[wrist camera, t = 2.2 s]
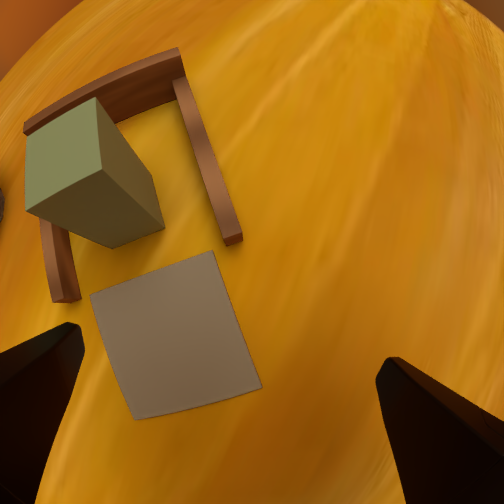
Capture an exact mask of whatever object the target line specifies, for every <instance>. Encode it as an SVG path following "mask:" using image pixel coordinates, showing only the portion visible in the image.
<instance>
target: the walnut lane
mask: <svg viewBox="0 0 504 504" xmlns="http://www.w3.org/2000/svg"><path fill="white" fill-rule="evenodd" d="M94 97H96V98H97V100H98V101H99V103H100V104H101V105H102V107H103V108H104V110H105V111H106V113H107V114H108V116H109V117H110V118H111V120H112V121H113V123H114V124H115V123H117V122H120V121H122V120H124V119H126V118H129V117H131V116H133V115H136V114H138V113H141V112H143V111H145V110H148V109H151V108H153V107H156V106H158V105H161V104H164V103H166V102H169V101H172V100H175V99H178V102H179V106H180V109H181V112H182V115H183V118H184V122H185V125H186V128H187V131H188V134H189V137H190V140H191V143H192V146H193V150H194V153H195V156H196V159H197V162H198V165H199V168H200V171H201V174H202V177H203V180H204V183H205V186H206V189H207V192H208V195H209V198H210V201H211V204H212V207H213V210H214V213H215V216H216V219H217V221H218V224H219V227H220V230H221V233H222V236H223V239H224V241H225V244H226V246H229V245H231V244H234V243H237V242H240V241H243V235H242V230H241V227H240V225H239V222H238V219H237V216H236V213H235V211H234V208H233V205H232V202H231V200H230V197H229V194H228V191H227V189H226V186H225V183H224V180H223V178H222V175H221V172H220V169H219V167H218V164H217V161H216V158H215V155H214V153H213V150H212V147H211V144H210V142H209V139H208V136H207V133H206V131H205V128H204V125H203V122H202V119H201V117H200V114H199V111H198V108H197V106H196V103H195V100H194V97H193V94H192V92H191V89H190V86H189V83H188V80H187V78H186V74H185V71H184V67H183V63H182V59H181V55H180V52H179V49H178V47H176V48H173V49H170V50H167V51H164V52H161V53H158V54H155V55H153V56H150V57H147V58H145V59H142V60H139V61H137V62H134V63H132V64H130V65H127V66H125V67H122V68H120V69H118V70H116V71H113V72H111V73H109V74H107V75H105V76H103V77H101V78H98V79H96V80H94V81H92V82H90V83H88V84H87V85H85V86H83V87H81V88H79V89H77V90H75V91H73V92H72V93H70V94H68V95H66V96H65V97H63V98H61V99H60V100H58V101H56V102H55V103H53V104H51V105H50V106H48V107H47V108H45V109H43V110H42V111H40V112H39V113H37V114H36V115H34V116H33V117H31V118H30V119H28V120H27V121H26V122H24V128H23V133H24V134H25V135H26V136H29V135H31V134H32V133H34V132H35V131H37V130H38V129H40V128H41V127H43V126H45V125H46V124H48V123H49V122H51V121H53V120H54V119H56V118H58V117H59V116H61V115H63V114H64V113H66V112H68V111H70V110H71V109H73V108H75V107H77V106H79V105H81V104H82V103H84V102H86V101H88V100H90V99H92V98H94ZM39 220H40V230H41V239H42V247H43V255H44V261H45V267H46V273H47V279H48V284H49V289H50V294H51V298H52V303H72V302H75V301H78V300H80V299H82V298H81V294H80V290H79V286H78V281H77V277H76V272H75V267H74V262H73V257H72V252H71V246H70V240H69V233H68V230H66V229H64V228H61V227H59V226H57V225H55V224H53V223H50V222H48V221H46V220H44V219H42V218H39Z"/></svg>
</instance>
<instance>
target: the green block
mask: <svg viewBox="0 0 504 504" xmlns="http://www.w3.org/2000/svg"><path fill="white" fill-rule="evenodd" d="M25 211H26V212H29V213H31V214H33V215H35V216H37V217H39V218H42V219H44V220H46V221H48V222H50V223H53V224H55V225H57V226H59V227H61V228H64V229H66V230H68V231H71V232H73V233H75V234H77V235H80V236H82V237H84V238H87V239H89V240H91V241H94V242H96V243H99V244H101V245H103V246H106V247H108V248H111V249H114V248H116V247H119V246H121V245H124V244H126V243H129V242H131V241H134V240H136V239H139V238H141V237H144V236H146V235H149V234H151V233H154V232H157V231H159V230H162V229H164V228H165V225H164V221H163V218H162V214H161V210H160V207H159V203H158V199H157V195H156V191H155V187H154V183H153V179H152V175H151V174H150V173H149V171H148V170H147V169H146V167H145V166H144V164H143V163H142V162H141V160H140V159H139V158H138V156H137V155H136V153H135V152H134V151H133V149H132V148H131V147H130V145H129V144H128V142H127V141H126V140H125V138H124V137H123V135H122V134H121V133H120V131H119V130H118V128H117V127H116V126H115V124H114V123H113V121H112V120H111V118H110V117H109V116H108V114H107V113H106V111H105V110H104V108H103V107H102V105H101V104H100V103H99V101H98V100H97V98H96V97H94V98H92V99H90V100H88V101H86V102H84V103H82V104H81V105H79V106H77V107H75V108H73V109H71V110H70V111H68V112H66V113H64V114H63V115H61V116H59V117H58V118H56V119H54V120H53V121H51V122H49V123H48V124H46V125H45V126H43V127H41V128H40V129H38V130H37V131H35V132H34V133H32V134H31V135H29V136H28V137H27V144H26V160H25Z"/></svg>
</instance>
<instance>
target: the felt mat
mask: <svg viewBox="0 0 504 504" xmlns="http://www.w3.org/2000/svg"><path fill="white" fill-rule="evenodd" d="M90 299H91V303H92V306H93V310H94V313H95V317H96V320H97V324H98V327H99V330H100V333H101V336H102V340H103V343H104V346H105V349H106V351H107V354H108V357H109V360H110V363H111V365H112V368H113V371H114V373H115V376H116V378H117V381H118V383H119V386H120V388H121V391H122V393H123V395H124V398H125V400H126V402H127V405H128V407H129V409H130V411H131V413H132V416H133V418H134V420H139V419H144V418H150V417H155V416H160V415H165V414H169V413H174V412H178V411H183V410H187V409H191V408H195V407H199V406H203V405H207V404H210V403H214V402H218V401H221V400H225V399H228V398H231V397H235V396H238V395H241V394H244V393H248V392H251V391H254V390H257V389H260V388H262V385H261V382H260V380H259V377H258V374H257V372H256V369H255V367H254V364H253V361H252V359H251V356H250V354H249V351H248V348H247V346H246V343H245V340H244V338H243V335H242V332H241V329H240V327H239V324H238V321H237V319H236V316H235V313H234V310H233V308H232V305H231V302H230V299H229V296H228V294H227V291H226V288H225V285H224V282H223V279H222V276H221V274H220V271H219V268H218V265H217V262H216V259H215V256H214V253H213V251H212V250H211V251H208V252H206V253H203V254H200V255H197V256H194V257H192V258H189V259H186V260H183V261H180V262H178V263H175V264H172V265H169V266H167V267H164V268H161V269H158V270H156V271H153V272H150V273H147V274H145V275H142V276H139V277H136V278H134V279H131V280H128V281H126V282H123V283H120V284H117V285H115V286H112V287H109V288H107V289H104V290H101V291H99V292H96V293H93V294H91V295H90Z"/></svg>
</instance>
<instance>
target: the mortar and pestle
mask: <svg viewBox="0 0 504 504" xmlns="http://www.w3.org/2000/svg"><path fill="white" fill-rule="evenodd" d="M4 200H5V198H4V196H3V193H2V191H1V189H0V222H1V220H2V217H3V210H4Z"/></svg>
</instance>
